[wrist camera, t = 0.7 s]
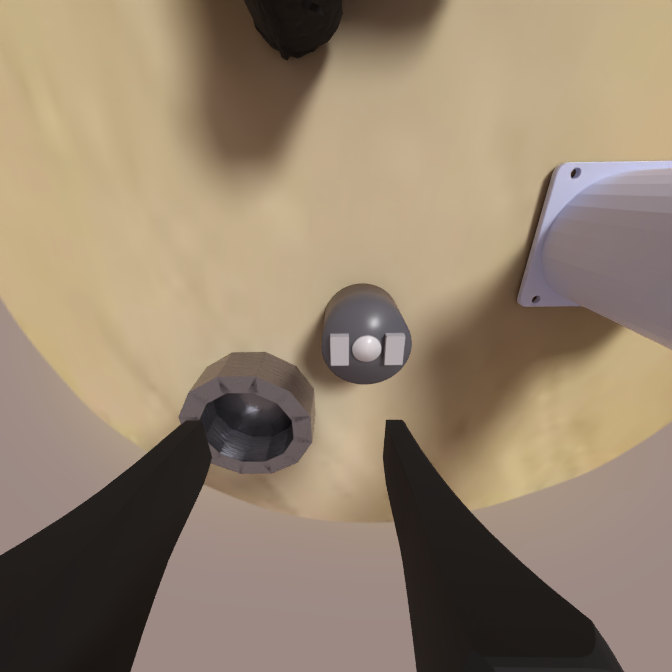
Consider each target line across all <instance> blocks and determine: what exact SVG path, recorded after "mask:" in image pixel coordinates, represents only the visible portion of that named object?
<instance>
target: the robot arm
mask: <svg viewBox="0 0 672 672" xmlns="http://www.w3.org/2000/svg"><path fill="white" fill-rule="evenodd" d="M573 169H575V170H576V174H575V175H574V177H573V178H571V172H572V170H573ZM535 296H537V298H536V299H535V300H534V301H532V299H533V297H535ZM517 302H518V303H519V304H520V305H521V306H524V307H559V306H583V307H585V308H587V309H589V310H591V311H593V312H595V313H597V314H599V315H601V316H603V317H605V318H607V319H610V320H612V321H614V322H616V323H618V324H620V325H622V326H624V327H626V328H628V329H630V330H632V331H634V332H636V333H638V334H640V335H642V336H644V337H646V338H649V339H651V340H653V341H655V342H657V343H659V344H661V345H663V346H665V347H667V348H669V349H671V350H672V161H626V162H568V163H562V164H560V165H558V166H557V167H556V168H555V169H554V171H553V173H552V177H551V180H550V184H549V187H548V191H547V194H546V198H545V202H544V205H543V209H542V212H541V216H540V219H539V223H538V226H537V230H536V233H535V237H534V240H533V244H532V247H531V251H530V255H529V258H528V262H527V265H526V269H525V272H524V276H523V279H522V283H521V286H520V290H519V293H518V297H517ZM211 460H212V455H211V451H210V448H209V444H208V441H207V438H206V434H205V431H204V427H203V424H202V421H201V420H186V421H185V422H184V423H182V424H181V425H180V426H179V427H177V428H176V429H175V430H174V431H173V432H172V433H170V434H169V435H168V436H167V437H166V438H165V439H163V440H162V441H161V442H160V443H159V444H158V445H156V446H155V447H154V448H153V449H152V450H150V451H149V452H148V453H147V454H146V455H144V456H143V457H142V458H141V459H140V460H139V461H137V462H136V463H135V464H134V465H132V466H131V467H130V468H129V469H128V470H126V471H125V472H124V473H122V474H121V475H120V476H118V477H117V478H116V479H115V480H113V481H112V482H111V483H109V484H108V485H107V486H106V487H105V488H103V489H102V490H100V491H99V492H98V493H96V494H95V495H93V496H92V497H91V498H89V499H88V500H87V501H85V502H84V503H82V504H81V505H79V506H78V507H76V508H75V509H74V510H72V511H71V512H69V513H68V514H66V515H65V516H63V517H62V518H60V519H59V520H57V521H56V522H54V523H52V524H51V525H49V526H48V527H46V528H44V529H43V530H41V531H40V532H38V533H37V534H35V535H33V536H32V537H30V538H29V539H27V540H25V541H24V542H22V543H21V544H19V545H17V546H16V547H14V548H12V549H10V550H9V551H7V552H5V553H4V554H2V555H0V672H130V671H131V668H132V665H133V662H134V658H135V656H136V652H137V649H138V646H139V643H140V640H141V636H142V634H143V630H144V627H145V625H146V621H147V619H148V616H149V613H150V610H151V607H152V604H153V601H154V599H155V595H156V593H157V590H158V587H159V585H160V582H161V579H162V577H163V574H164V571H165V568H166V566H167V563H168V560H169V558H170V556H171V553H172V551H173V549H174V546H175V544H176V542H177V540H178V538H179V536H180V533H181V531H182V529H183V527H184V525H185V523H186V521H187V519H188V517H189V514H190V512H191V510H192V508H193V506H194V504H195V502H196V499H197V497H198V495H199V492H200V491H201V489H202V486H203V484H204V481H205V478H206V475H207V473H208V469H209V466H210V463H211ZM383 462H384V471H385V480H386V486H387V491H388V495H389V500H390V505H391V509H392V514H393V518H394V523H395V527H396V532H397V536H398V540H399V545H400V550H401V556H402V561H403V568H404V575H405V582H406V589H407V597H408V604H409V612H410V620H411V628H412V635H413V644H414V652H415V660H416V669H417V672H624V671H623V670H622V668H621V666H620V664H619V663H618V661H617V659H616V657H615V656H614V654H613V652H612V651H611V649H610V648H609V646H608V644H607V643H606V641H605V640H604V638H603V637H602V636H601V634H600V633H599V631H598V630H597V628H596V627H595V625H594V624H593V622H592V621H591V620H590V619H589V618H588V617H586V616H585V615H584V614H582V613H581V612H580V611H579V610H578V609H576V608H575V607H574V606H573V605H571V604H570V603H569V602H568V601H566V600H565V599H564V598H562V597H561V596H560V595H559V594H557V593H556V592H555V591H554V590H553V589H552V588H550V587H549V586H548V585H547V584H546V583H544V582H543V581H542V580H541V579H540V578H539V577H538V576H536V575H535V574H534V573H533V572H532V571H531V570H530V569H529V568H527V567H526V566H525V565H524V564H523V563H522V562H521V561H520V560H518V558H516V557H515V556H514V555H513V554H512V553H511V552H510V551H509V550H508V549H507V548H506V547H505V546H504V545H503V544H502V543H500V542H499V540H498V539H497V538H495V537H494V536H493V535H492V534H491V533H490V532H489V531H488V530H487V529H486V528H485V527H484V525H483V524H482V523H481V522H480V521H479V520H478V519H477V518H476V517H475V516H474V515H473V514H472V513H471V512H470V511H469V509H468V508H467V507H466V506H465V505H464V504H463V503H462V502H461V500H460V499H459V498H458V497H457V496H456V495H455V493H454V492H453V491H452V490H451V489H450V487H449V486H448V485H447V484H446V482H445V481H444V480H443V479H442V477H441V476H440V475H439V473H438V472H437V471H436V469H435V468H434V467H433V465H432V464H431V463H430V461H429V460H428V458H427V457H426V456H425V454H424V453H423V451H422V450H421V448H420V447H419V445H418V444H417V442H416V441H415V439H414V437H413V436H412V434H411V433H410V431H409V429H408V428H407V426H406V424H405V422H404V421H403V420H386V427H385V439H384V451H383Z"/></svg>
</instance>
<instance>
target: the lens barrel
mask: <svg viewBox="0 0 672 672" xmlns="http://www.w3.org/2000/svg"><path fill="white" fill-rule="evenodd" d="M179 420H180V423H181V424H182V423H184V422H185V421H186V420H201V421H202V424H203V427H204V431H205V434H206V438H207V441H208V444H209V448H210V451H211V455H212V460H211V463H212V464H215V465H218V466H221V467H223V468H226V469H229V470H232V471H235V472H238V473H240V474H244V473H274V472H276V471H278V470H281V469H283V468H286V467H288V466H290V465H293V464H295V463H297V462H298V461H299V460H300V458H301V457H302V456H303V454H304V453H305V451H306V450H307V449H308V447H309V446H310V445H311V443H312V440H313V430H314V420H315V401H314V389H313V387H312V386H311V385H310V384H309V382H308V381H307V380H306V378H305V377H304V376H303V375H302V373H301V372H300V371H299V369H298V368H297V367H296V366H294V365H292V364H290V363H288V362H286V361H284V360H281V359H279V358H277V357H275V356H273V355H270V354H268V353H266V352H250V353H231V354H229V355H227V356H226V357H224V358H222V359H220V360H219V361H217V362H215V363H213V364H212V365H210V366H208V367H207V368H206V369H205V371H204V372H203V374H202V375H201V376H200V378H199V379H198V380H197V382H196V383H195V385H194V386H193V387H192V389H191V390H190V391H189V393H188V395H187V398H186V400H185V403H184V405H183V408H182V410H181V413H180V415H179Z"/></svg>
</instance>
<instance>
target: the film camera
mask: <svg viewBox="0 0 672 672" xmlns="http://www.w3.org/2000/svg"><path fill="white" fill-rule="evenodd" d="M244 1H245V3H246V5H247V7H248V9H249V12H250V14H251V16H252V18H253V20H254V24H255V27H256V29H257V30H258V32H259V33H260V34H261V35H262V36H263V38H264V39H265V40H266V41H267V42H268V43H269V44H270V45H271V47H273V48H274V49H276V50H277V51H279V52H280V54H281V57H282V58H283V59H286V60H288V58H289V56H292V57H296V58H300V57H302V56H304V55H305V54H308V53H310V52H314V51H315V50H316V49H317V48H318V47H319V46H320V45H322V44H324V43H326V42H328V41H329V40H330V38H331V37H332V36H333V34H334V33H335V32H336V30H337V28H338V26H339V23H340V20H341V18H342V15H343V10H342V0H244Z"/></svg>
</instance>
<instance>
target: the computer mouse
mask: <svg viewBox="0 0 672 672" xmlns="http://www.w3.org/2000/svg"><path fill="white" fill-rule="evenodd" d="M411 345H412V341H411V335H410V331H409V329H408V327H407V325H406V323H405V321H404V319H403V317H402V315H401V313H400V311H399V309H398V307H397V305H396V304H395V302H394V300H393V298H392V297H391V296H390V295H389V294H388V293H387V292H386V291H385V290H383V289H382V288H380V287H377V286H375V285H371V284H354V285H350V286H347V287H345V288H343V289H342V290H340V291H339V292H337V293H336V294H335V295H334V296H333V297H332V298H331V300H330V301H329V303H328V305H327V307H326V310H325V316H324V326H323V337H322V354H323V358H324V360H325V362H326V364H327V366H328V367H329V369H330V370H331V371H332V372H333V373H334V374H335V375H337V376H338V377H340V378H341V379H343V380H345V381H348V382H351V383H355V384H374V383H378V382H382V381H384V380H387V379H388V378H390V377H392V376H393V375H395V374H396V373H397V372H398V371H400V369H401V368H402V367H403V366H404V365H405V363H406V362H407V360H408V358H409V355H410V352H411Z"/></svg>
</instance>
